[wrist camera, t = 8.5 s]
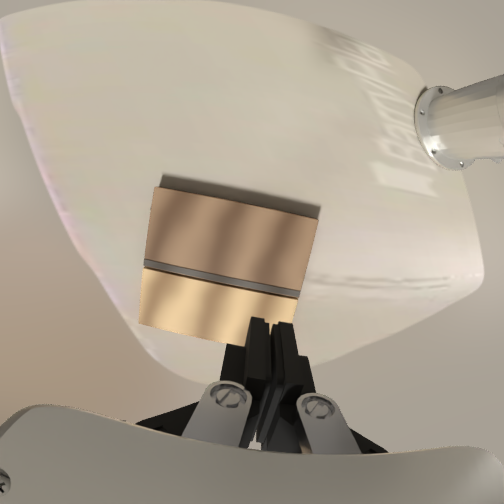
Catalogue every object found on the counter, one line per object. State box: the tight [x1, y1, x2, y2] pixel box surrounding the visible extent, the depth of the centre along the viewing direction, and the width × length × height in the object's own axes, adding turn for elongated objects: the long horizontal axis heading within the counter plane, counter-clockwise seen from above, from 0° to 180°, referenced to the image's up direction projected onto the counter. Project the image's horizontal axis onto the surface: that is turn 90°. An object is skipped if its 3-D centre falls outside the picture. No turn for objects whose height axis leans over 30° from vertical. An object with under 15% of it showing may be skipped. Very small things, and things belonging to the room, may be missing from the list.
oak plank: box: [139, 266, 298, 346], centre depth 39 cm, size 20×8×2 cm, turn 78°
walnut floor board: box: [144, 187, 319, 298], centre depth 37 cm, size 20×10×2 cm, turn 78°
